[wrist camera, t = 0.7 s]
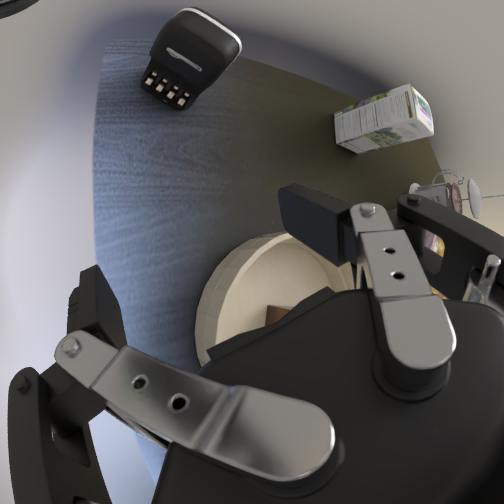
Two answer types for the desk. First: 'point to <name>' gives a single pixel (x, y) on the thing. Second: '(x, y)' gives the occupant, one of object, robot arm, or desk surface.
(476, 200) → the french press
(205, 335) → the bowl
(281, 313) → the block
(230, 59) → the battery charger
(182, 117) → the desk surface
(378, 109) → the syrup box
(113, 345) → the robot arm
